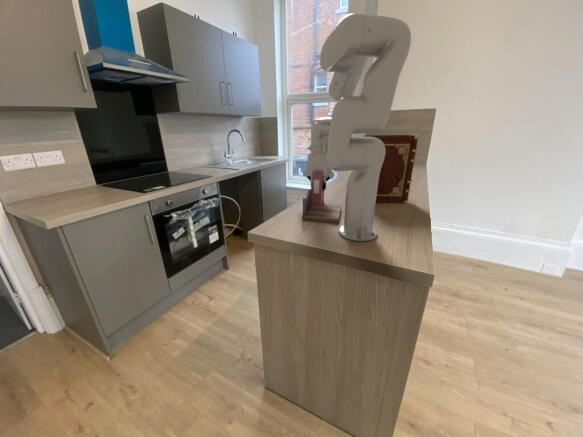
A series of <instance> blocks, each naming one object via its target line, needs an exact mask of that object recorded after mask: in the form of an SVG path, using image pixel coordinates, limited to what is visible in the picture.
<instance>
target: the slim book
mask: <svg viewBox="0 0 583 437" xmlns="http://www.w3.org/2000/svg"><path fill="white" fill-rule="evenodd" d="M322 174H323V171H313V172H312V204H323V205H324V202H323V201H325V190H324V191H322V186H323V176H322Z"/></svg>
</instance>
